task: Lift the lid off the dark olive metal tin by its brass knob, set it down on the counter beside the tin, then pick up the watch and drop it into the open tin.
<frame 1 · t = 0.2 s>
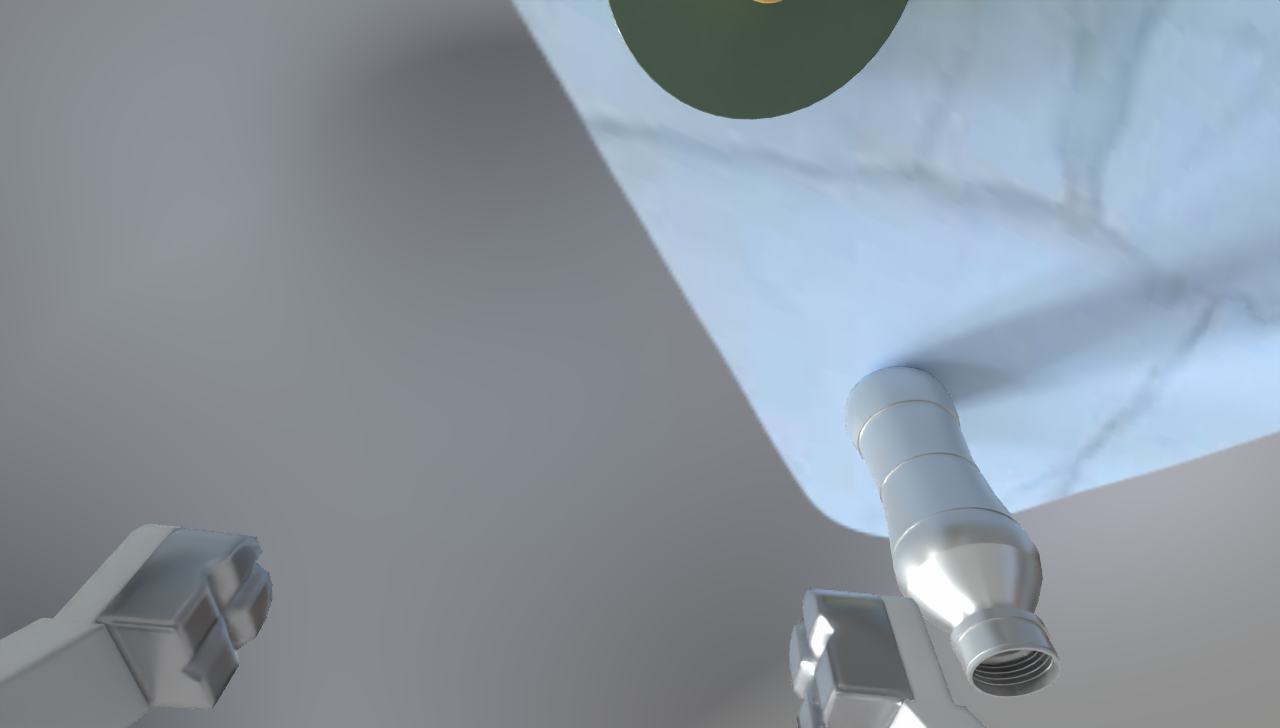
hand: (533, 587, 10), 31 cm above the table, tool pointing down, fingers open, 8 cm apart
plastic bottle: (887, 392, 45), on the table
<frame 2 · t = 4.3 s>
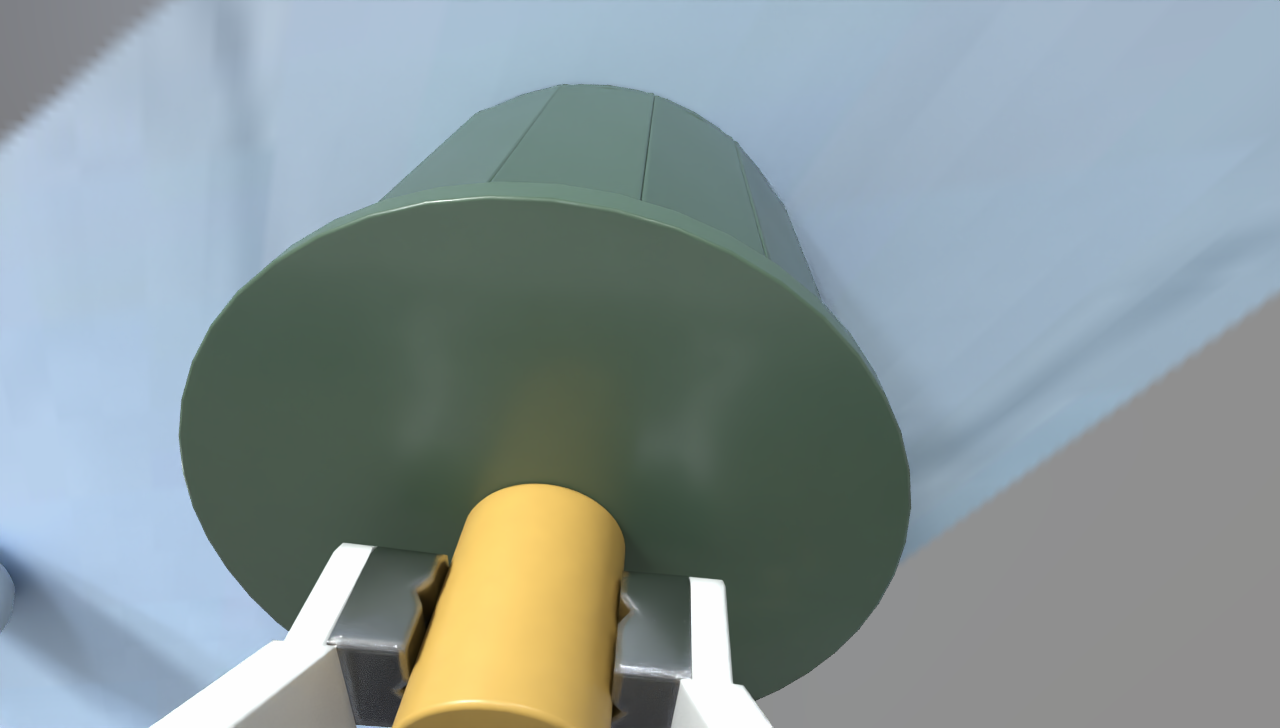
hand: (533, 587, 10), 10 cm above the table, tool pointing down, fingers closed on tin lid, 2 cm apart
tin lid: (551, 514, 11), point 8 cm above the table, touching gripper, tin
tin: (597, 290, 18), on the table
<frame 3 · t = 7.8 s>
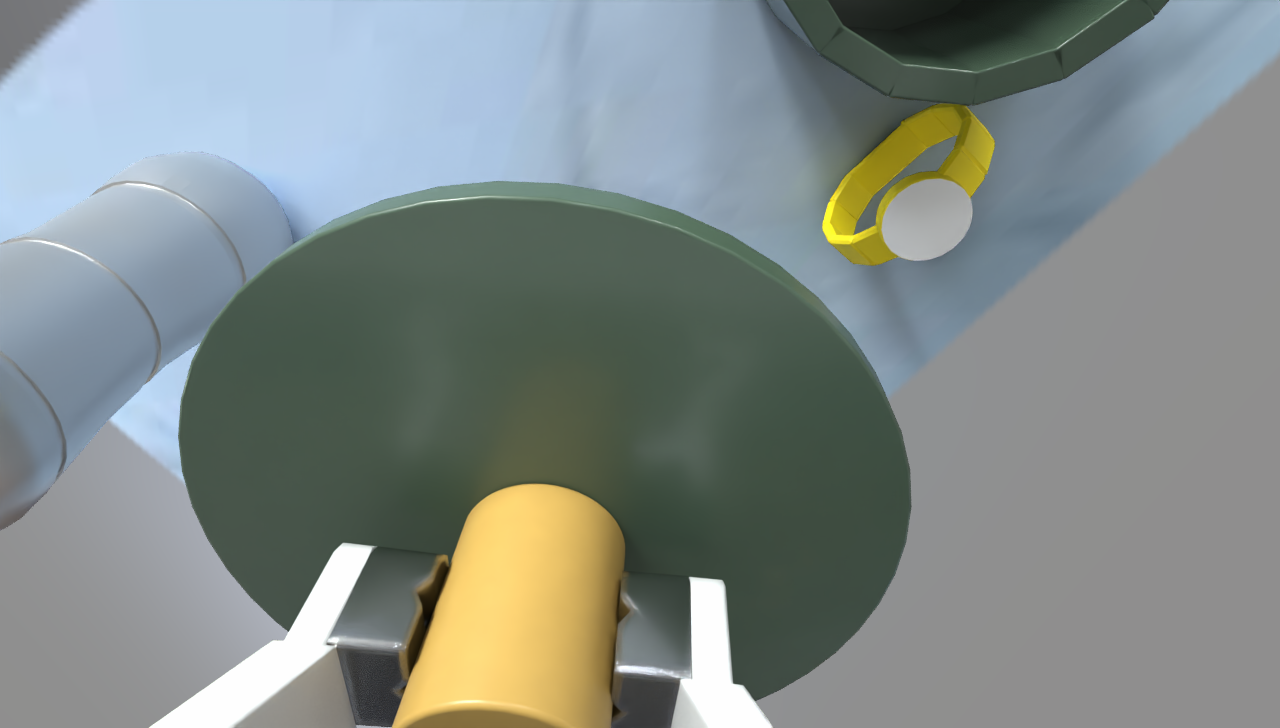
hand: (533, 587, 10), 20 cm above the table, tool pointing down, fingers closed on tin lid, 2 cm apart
plastic bottle: (238, 215, 28), on the table
watch: (880, 160, 26), on the table
tin lid: (551, 514, 11), point 18 cm above the table, touching gripper
when the fingers open (2 cm above the table, at t = 11.8 s): tin lid stays where it is, point 1 cm above the table.
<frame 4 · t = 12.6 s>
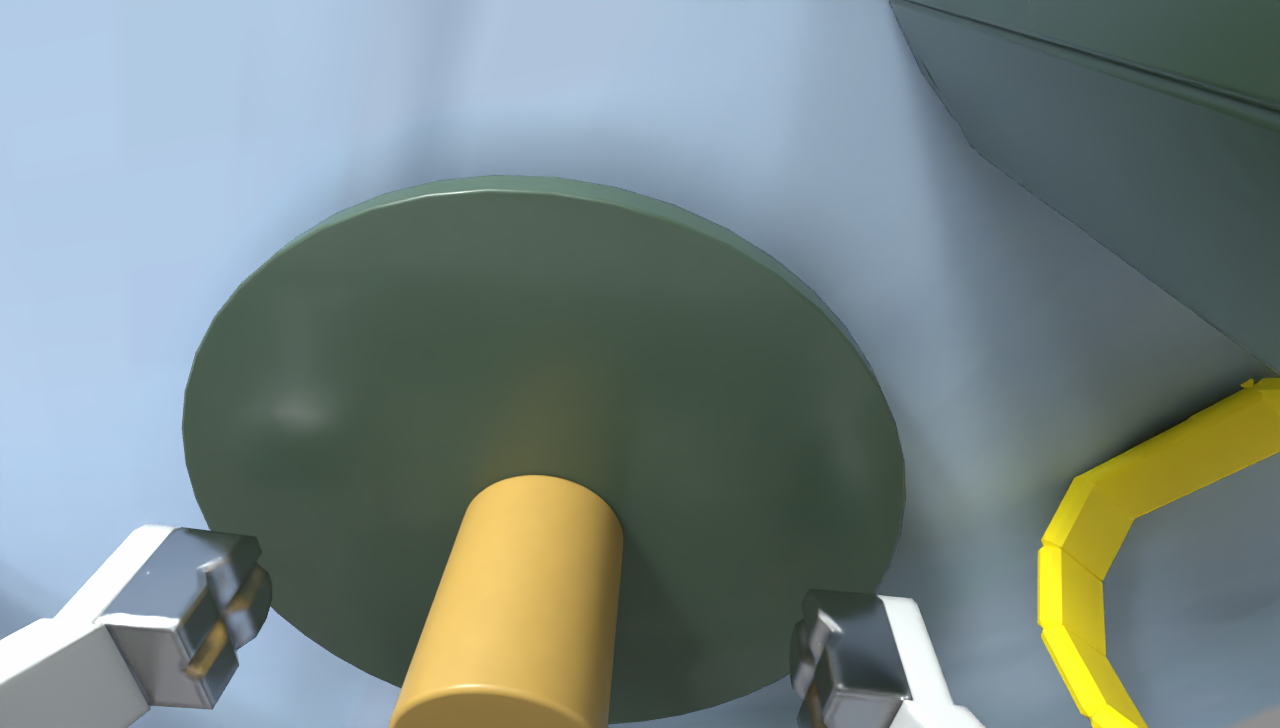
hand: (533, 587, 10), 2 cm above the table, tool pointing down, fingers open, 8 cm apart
watch: (1159, 444, 11), on the table
tin lid: (550, 506, 11), point 1 cm above the table
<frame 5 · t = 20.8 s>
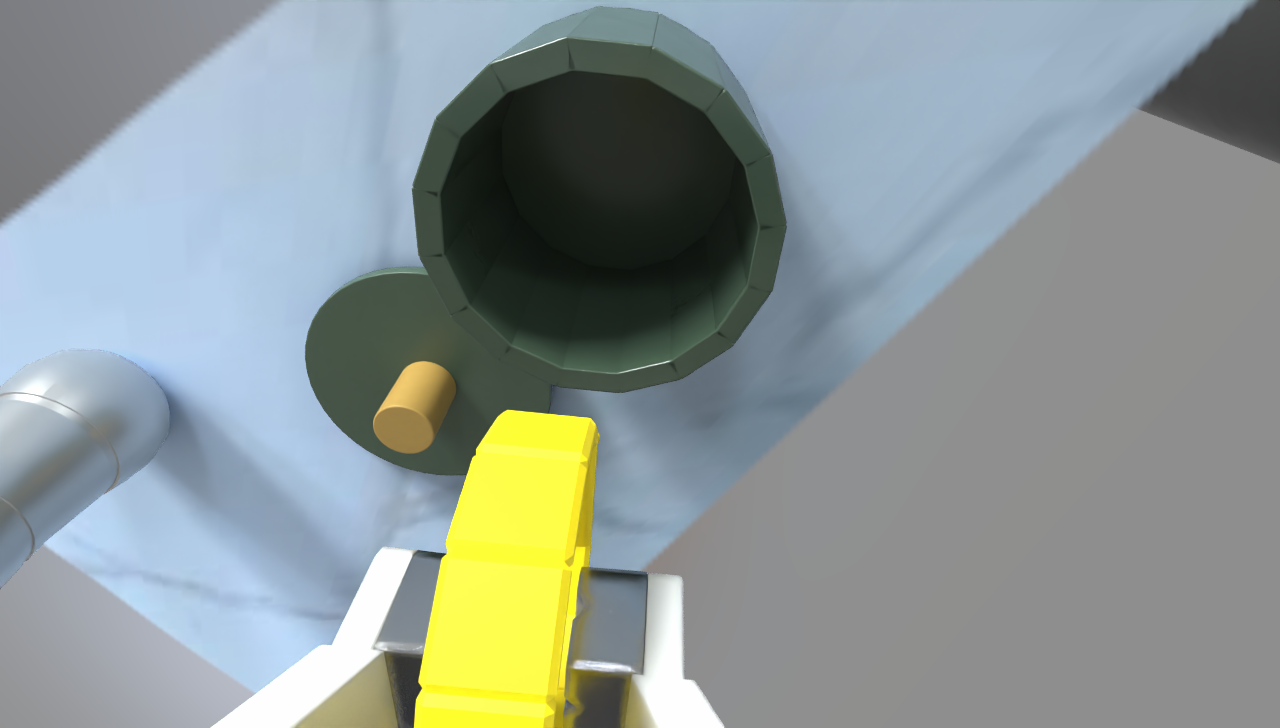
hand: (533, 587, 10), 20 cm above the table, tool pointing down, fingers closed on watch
plastic bottle: (125, 385, 34), on the table
watch: (557, 481, 12), point 18 cm above the table, touching gripper
tin lid: (432, 376, 32), point 1 cm above the table
tin: (618, 159, 26), on the table
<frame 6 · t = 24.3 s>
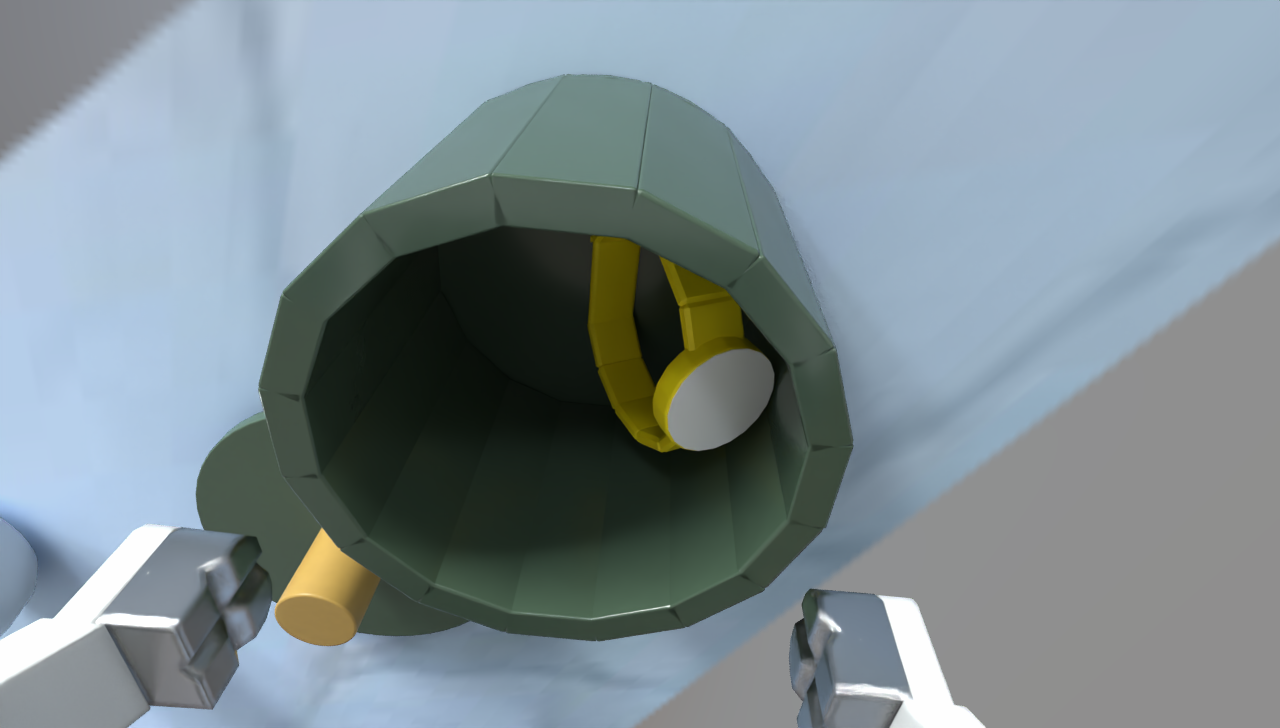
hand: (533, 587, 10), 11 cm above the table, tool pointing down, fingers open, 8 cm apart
watch: (606, 278, 19), point 1 cm above the table, touching tin
tin lid: (365, 526, 25), point 1 cm above the table
tin: (598, 270, 19), on the table
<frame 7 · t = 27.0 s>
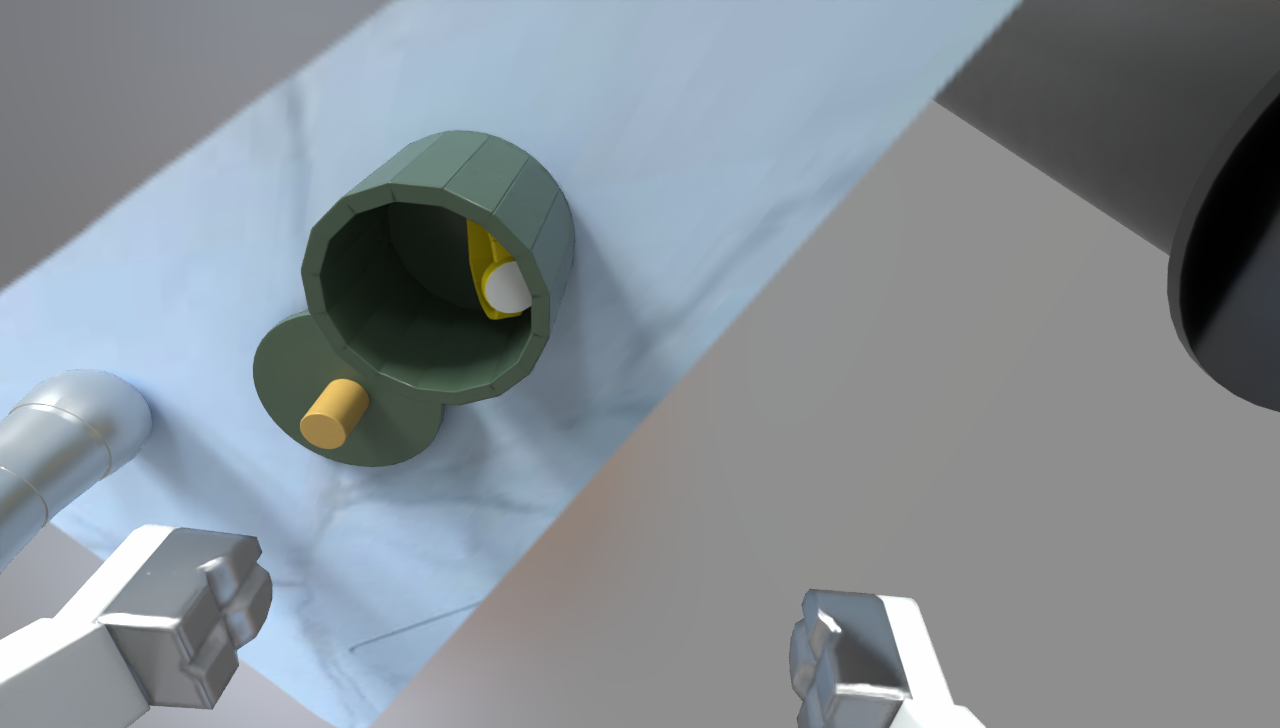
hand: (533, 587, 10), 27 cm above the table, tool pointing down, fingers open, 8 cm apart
plastic bottle: (117, 396, 44), on the table
watch: (478, 235, 36), point 1 cm above the table, touching tin
tin lid: (352, 390, 41), point 1 cm above the table
tin: (476, 232, 36), on the table
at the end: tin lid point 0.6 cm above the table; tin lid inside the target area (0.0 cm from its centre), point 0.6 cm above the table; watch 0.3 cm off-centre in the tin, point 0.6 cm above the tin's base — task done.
